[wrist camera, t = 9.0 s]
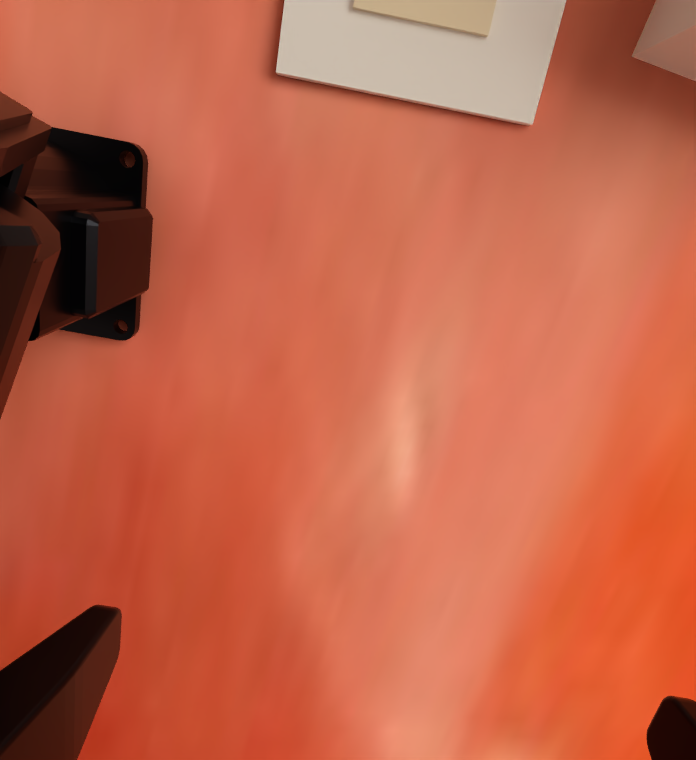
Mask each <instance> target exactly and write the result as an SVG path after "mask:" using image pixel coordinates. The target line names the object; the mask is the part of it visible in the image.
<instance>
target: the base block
mask: <svg viewBox="0 0 696 760" xmlns="http://www.w3.org/2000/svg"><path fill="white" fill-rule="evenodd" d="M631 57H634V58H636V59H639V60H641V61H644V62H647V63H649V64H652V65H654V66H657V67H660V68H662V69H665V70H667V71H670V72H673V73H675V74H678V75H680V76H683V77H686V78H688V79H691V80H693V81H696V0H656V1H655V4H654V6H653V8H652V11H651V13H650V15H649V17H648V20H647V22H646V24H645V27H644V29H643V31H642V33H641V36H640V38H639V40H638V42H637V45H636V47H635V49H634V52H633V54H632V56H631Z"/></svg>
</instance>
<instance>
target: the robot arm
mask: <svg viewBox="0 0 696 760" xmlns="http://www.w3.org/2000/svg"><path fill="white" fill-rule="evenodd" d="M128 152H132V153H133V155H134V156H135V160H136V161H135V164H134V166H132V167H131V168H130V167H128V166H127V164H126V163H125V159H124V158H125V155H126V153H128ZM147 172H148V159H147V155H146V153H145V151H144V150H143V149H142V148H141V147H140V146H139V145H136V144H134V143H130V142H125V141H120V140H115V139H110V138H105V137H99V136H94V135H89V134H84V133H79V132H74V131H69V130H64V129H58V128H53V127H51V126H49V125H48V124H46V123H44V122H42V121H41V120H39V119H37V118H35V117H33V116H32V111H31V110H29V109H28V108H26V107H25V106H23V105H21V104H20V103H18V102H16V101H15V100H13V99H11V98H10V97H8V96H6V95H5V94H3V93H2V92H0V419H1V416H2V413H3V410H4V407H5V405H6V402H7V399H8V396H9V393H10V391H11V388H12V385H13V382H14V379H15V377H16V374H17V371H18V368H19V365H20V363H21V360H22V357H23V354H24V351H25V349H26V346H27V343H28V341H34V340H36V339H38V338H40V337H43V336H45V335H47V334H49V333H51V332H53V331H56V330H58V329H60V330H65V331H71V332H76V333H82V334H88V335H93V336H99V337H104V338H110V339H115V340H127V339H129V338H131V337H133V336H134V335H135V334H136V333H137V332H138V329H139V323H140V304H141V294H143V293H144V292H145V291H147V290H148V288H149V276H150V258H151V241H152V224H153V217H152V215H151V214H150V212H149V211H148V209H146V190H147ZM119 320H123V321H125V322H126V324H127V326H128V329H127V331H124V330H122V329H121V328H120V327H119V325H118V321H119ZM121 619H122V614H121V610H120V609H118V608H116V607H110V606H103V605H94V606H92V607H90V608H89V609H87V610H86V611H84V612H83V613H82V614H80V615H79V616H77V617H76V618H74V619H73V620H72V621H70V622H69V623H67V624H66V625H64V626H63V627H62V628H60V629H59V630H57V631H56V632H55V633H53V634H52V635H50V636H49V637H47V638H46V639H45V640H43V641H42V642H40V643H39V644H37V645H36V646H35V647H33V648H32V649H30V650H29V651H28V652H26V653H25V654H23V655H22V656H20V657H19V658H18V659H16V660H15V661H13V662H12V663H11V664H9V665H8V666H6V667H5V668H3V669H2V670H1V671H0V760H77V758H78V756H79V753H80V751H81V749H82V746H83V744H84V741H85V739H86V736H87V734H88V731H89V729H90V726H91V724H92V721H93V719H94V717H95V714H96V712H97V709H98V707H99V704H100V702H101V699H102V697H103V694H104V692H105V689H106V687H107V684H108V682H109V679H110V677H111V674H112V672H113V669H114V667H115V664H116V662H117V659H118V655H119V650H120V638H121ZM647 745H648V749H649V753H650V756H651V759H652V760H696V702H695V701H693V700H691V699H687V698H681V697H675V696H667V697H666V698H664V699H663V700H662V702H661V704H660V706H659V708H658V710H657V712H656V713H655V715H654V717H653V719H652V721H651V723H650V725H649V727H648V730H647Z"/></svg>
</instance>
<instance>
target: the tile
mask: <svg viewBox="0 0 696 760" xmlns="http://www.w3.org/2000/svg"><path fill="white" fill-rule="evenodd" d="M565 4H566V0H284V9H283V17H282V25H281V33H280V42H279V50H278V58H277V66H276V73H277V75H280V76H285V77H290V78H295V79H300V80H305V81H310V82H315V83H320V84H324V85H329V86H334V87H339V88H344V89H349V90H354V91H359V92H364V93H369V94H374V95H379V96H384V97H389V98H393V99H398V100H403V101H408V102H413V103H418V104H423V105H428V106H433V107H438V108H443V109H448V110H453V111H458V112H462V113H467V114H472V115H477V116H482V117H487V118H492V119H497V120H502V121H507V122H512V123H517V124H522V125H527V126H530V125H532V124H533V121H534V118H535V114H536V110H537V107H538V103H539V99H540V96H541V92H542V88H543V85H544V81H545V77H546V74H547V70H548V66H549V63H550V59H551V55H552V51H553V48H554V44H555V40H556V37H557V33H558V29H559V26H560V22H561V18H562V15H563V11H564V7H565Z"/></svg>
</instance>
